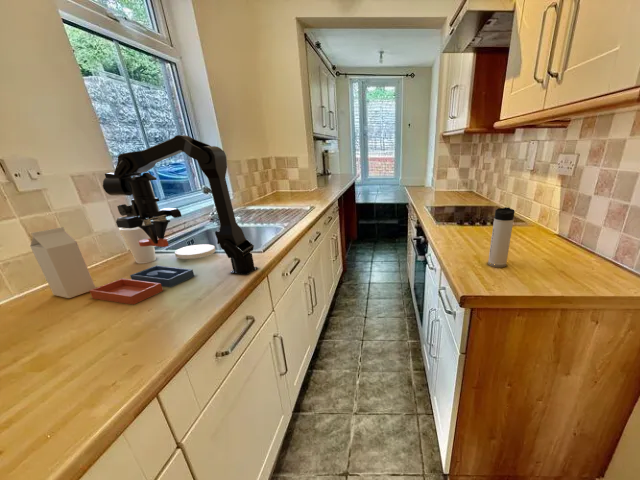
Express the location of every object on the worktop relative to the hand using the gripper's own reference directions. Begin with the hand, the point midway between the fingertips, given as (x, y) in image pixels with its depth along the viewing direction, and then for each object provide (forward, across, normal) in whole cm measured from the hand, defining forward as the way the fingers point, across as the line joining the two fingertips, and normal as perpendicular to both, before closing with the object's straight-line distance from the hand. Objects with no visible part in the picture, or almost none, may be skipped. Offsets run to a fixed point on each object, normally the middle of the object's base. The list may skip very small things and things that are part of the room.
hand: (158, 242), depth 108 cm
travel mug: (+10, -36, +112) cm, 118 cm away
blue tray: (+10, +7, +7) cm, 14 cm away
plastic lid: (+10, -16, -3) cm, 19 cm away
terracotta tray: (+10, +19, +7) cm, 23 cm away
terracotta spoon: (+1, 0, -2) cm, 2 cm away
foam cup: (+10, -6, -16) cm, 20 cm away
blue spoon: (+9, +7, +7) cm, 14 cm away
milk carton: (+10, +22, -10) cm, 26 cm away
